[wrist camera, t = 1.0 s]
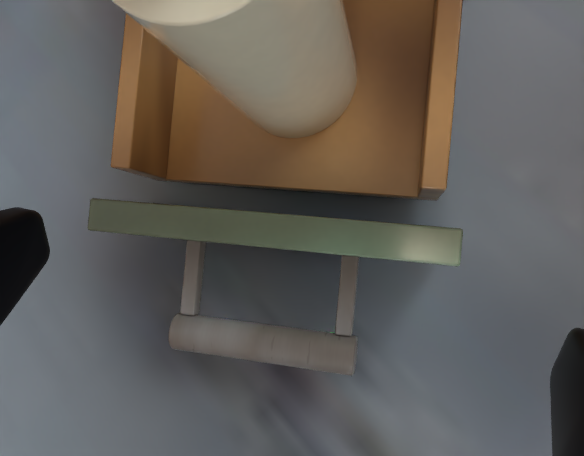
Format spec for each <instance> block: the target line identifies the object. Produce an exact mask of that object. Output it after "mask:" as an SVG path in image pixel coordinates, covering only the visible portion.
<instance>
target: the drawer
mask: <svg viewBox="0 0 584 456" xmlns="http://www.w3.org/2000/svg"><path fill="white" fill-rule="evenodd" d="M462 3H463V0H343V5H344V9H345V14H346V18H347V23H348V27H349V31H350V36H351V40H352V45H353V49H354V54H355V58H356V63H357V82H356V87H355V91H354V94H353V97H352V99H351V101H350V103H349V105H348V107H347V108H346V110H345V111H344V112H343V114H342V115H341V116H340V117H339V118H338V119H337V120H336V121H335V122H334V123H333V124H331V125H330V126H329V127H327V128H326V129H324V130H322V131H321V132H318V133H316V134H314V135H310V136H307V137H302V138H282V137H278V136H274V135H272V134H269V133H267V132H265V131H263V130H262V129H260V128H259V127H258V126H256V125H255V124H254V123H253V122H252V121H250V120H249V119H248V118H247V117H246V116H245V115H243V114H242V113H241V112H240V111H239V110H238V109H236V108H235V107H234V106H233V105H232V104H231V103H230V102H228V101H227V100H226V99H225V98H224V97H223V96H221V95H220V94H219V93H218V92H217V91H216V90H214V89H213V88H212V87H211V86H210V85H209V84H208V83H206V82H205V81H204V80H203V79H202V78H201V77H199V76H198V75H197V74H196V73H195V72H194V71H192V70H191V69H190V68H189V67H188V66H187V65H186V64H184V63H183V62H182V61H181V60H180V59H179V58H177V57H176V56H175V55H174V54H173V53H172V52H170V51H169V50H168V49H167V48H166V47H165V46H164V45H162V44H161V43H160V42H159V41H158V40H157V39H155V38H154V37H153V36H152V35H151V34H150V33H148V32H147V31H146V30H145V29H144V28H143V27H142V26H140V25H139V24H138V23H137V22H136V21H135V20H133V19H132V18H131V17H130V16H129V15H128V14H126V19H125V29H124V39H123V49H122V59H121V68H120V78H119V88H118V98H117V108H116V118H115V128H114V138H113V148H112V158H111V167H112V168H116V169H119V170H123V171H126V172H130V173H133V174H137V175H140V176H144V177H148V178H151V179H154V180H158V181H170V182H184V183H198V184H212V185H226V186H240V187H253V188H267V189H281V190H295V191H309V192H323V193H337V194H351V195H365V196H379V197H393V198H406V199H420V200H434V201H437V200H438V199H439V197H440V196H441V195H442V193H443V192H444V191H445V190H446V188H447V176H448V165H449V153H450V142H451V130H452V119H453V107H454V96H455V84H456V72H457V61H458V49H459V38H460V26H461V15H462ZM88 230H91V231H101V232H111V233H121V234H131V235H142V236H152V237H162V238H172V239H182V240H187V246H186V257H185V267H184V277H183V288H182V298H181V308H180V313H178V314H176V315H175V316H174V318H173V320H172V322H171V325H170V329H169V344H170V347H171V348H173V349H176V350H182V351H189V352H196V353H203V354H209V355H216V356H223V357H230V358H236V359H243V360H250V361H256V362H263V363H270V364H277V365H283V366H290V367H297V368H303V369H310V370H317V371H324V372H330V373H337V374H344V375H351V376H352V375H353V374H354V372H355V366H356V358H357V347H358V338H357V336H353V335H352V333H353V323H354V312H355V301H356V290H357V278H358V267H359V257H366V258H376V259H386V260H397V261H407V262H417V263H427V264H437V265H448V266H459V265H460V261H461V249H462V237H463V230H462V229H460V228H448V227H436V226H424V225H412V224H400V223H387V222H375V221H363V220H351V219H339V218H327V217H315V216H303V215H291V214H278V213H266V212H254V211H242V210H230V209H218V208H206V207H194V206H181V205H169V204H157V203H145V202H133V201H121V200H109V199H97V198H92V199H91V200H90V210H89V220H88ZM206 242H213V243H223V244H233V245H244V246H254V247H264V248H274V249H284V250H295V251H305V252H315V253H325V254H335V255H342V259H341V270H340V281H339V292H338V303H337V314H336V325H335V333H330V332H322V331H315V330H307V329H299V328H292V327H284V326H277V325H269V324H261V323H254V322H246V321H239V320H231V319H223V318H216V317H208V316H201V315H197V314H199V310H200V300H201V290H202V279H203V269H204V259H205V248H206Z"/></svg>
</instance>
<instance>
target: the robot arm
mask: <svg viewBox="0 0 584 456" xmlns="http://www.w3.org/2000/svg"><path fill="white" fill-rule="evenodd" d="M49 254H50V248H49V243H48V239H47V235H46V231H45V227H44V223H43V219H42V217H41V215H40V214H39V213H38V212H36V211H33V210H29V209H24V208H19V207H15V208H10V209H6V210H1V211H0V325H1V324H2V323H3V321H4V320H5V319H6V317H7V316H8V315H9V313H10V312H11V311H12V309H13V308H14V306H15V305H16V304H17V302H18V301H19V300H20V298H21V297H22V295H23V294H24V293H25V291H26V290H27V289H28V287H29V286H30V284H31V283H32V282H33V280H34V279H35V278H36V276H37V275H38V274H39V272H40V271H41V269H42V268H43V267H44V265H45V264H46V262H47V260H48V258H49ZM550 394H551V425H552V456H584V329H581V328H575V329H572V330H571V331H570V332H569V334H568V335H567V338H566V340H565V342H564V344H563V346H562V348H561V350H560V353H559V355H558V357H557V359H556V361H555V363H554V366H553V368H552V372H551V378H550Z"/></svg>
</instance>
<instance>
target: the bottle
mask: <svg viewBox="0 0 584 456" xmlns="http://www.w3.org/2000/svg"><path fill="white" fill-rule="evenodd" d="M112 1H113V2H114V3H115V4H116V5H117V6H118V7H120V8H121V9H122V10H123V11H124V12H125V13H126V14H128V15H129V16H130V17H131V18H132V19H133V20H135V21H136V22H137V23H138V24H139V25H140V26H142V27H143V28H144V29H145V30H146V31H147V32H148V33H150V34H151V35H152V36H153V37H154V38H155V39H157V40H158V41H159V42H160V43H161V44H162V45H164V46H165V47H166V48H167V49H168V50H169V51H170V52H172V53H173V54H174V55H175V56H176V57H177V58H179V59H180V60H181V61H182V62H183V63H184V64H186V65H187V66H188V67H189V68H190V69H191V70H192V71H194V72H195V73H196V74H197V75H198V76H199V77H201V78H202V79H203V80H204V81H205V82H206V83H208V84H209V85H210V86H211V87H212V88H213V89H214V90H216V91H217V92H218V93H219V94H220V95H221V96H223V97H224V98H225V99H226V100H227V101H228V102H230V103H231V104H232V105H233V106H234V107H235V108H236V109H238V110H239V111H240V112H241V113H242V114H243V115H245V116H246V117H247V118H248V119H249V120H250V121H252V122H253V123H254V124H255V125H256V126H258V127H259V128H260V129H262V130H263V131H265V132H267V133H269V134H272V135H274V136H278V137H282V138H302V137H307V136H310V135H314V134H316V133H318V132H321V131H322V130H324V129H326V128H327V127H329V126H330V125H331V124H333V123H334V122H335V121H336V120H337V119H338V118H339V117H340V116H341V115H342V114H343V112H344V111H345V110H346V108H347V107H348V105H349V103H350V101H351V99H352V97H353V94H354V91H355V87H356V82H357V63H356V58H355V54H354V49H353V45H352V40H351V36H350V31H349V27H348V23H347V18H346V14H345V9H344V5H343V0H112Z"/></svg>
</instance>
